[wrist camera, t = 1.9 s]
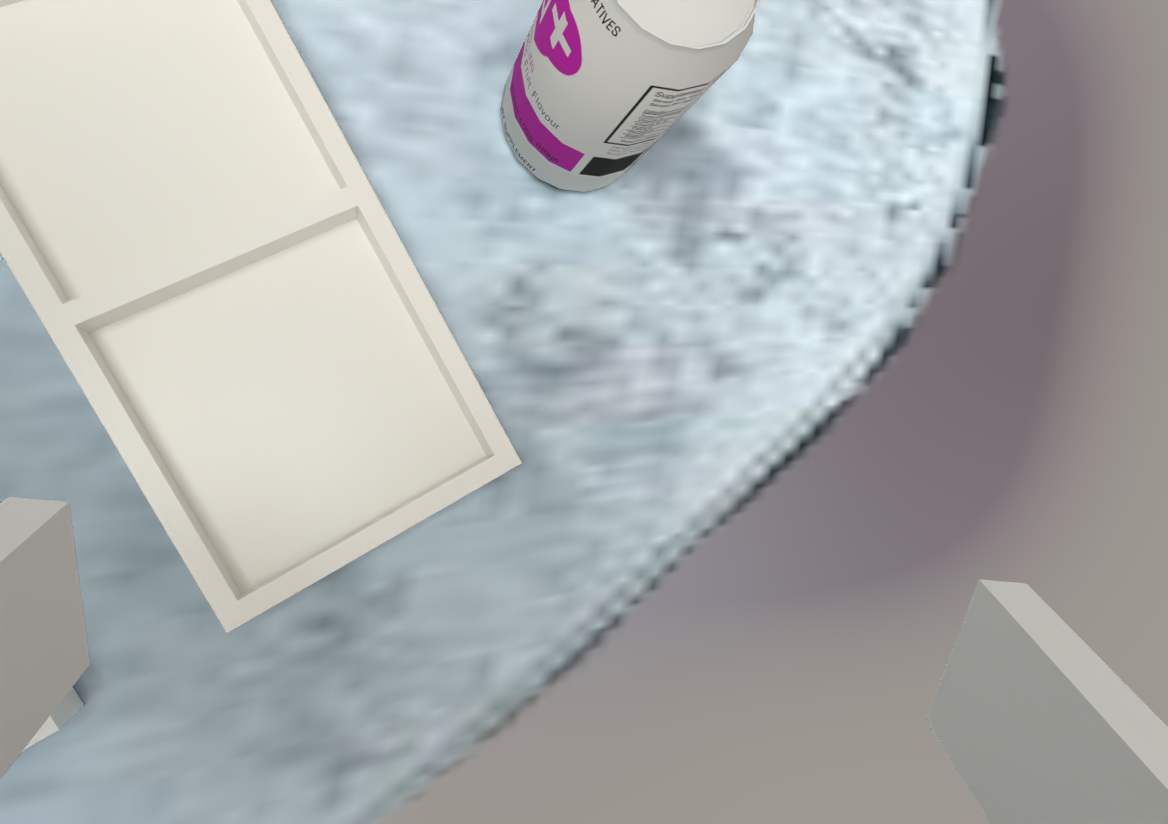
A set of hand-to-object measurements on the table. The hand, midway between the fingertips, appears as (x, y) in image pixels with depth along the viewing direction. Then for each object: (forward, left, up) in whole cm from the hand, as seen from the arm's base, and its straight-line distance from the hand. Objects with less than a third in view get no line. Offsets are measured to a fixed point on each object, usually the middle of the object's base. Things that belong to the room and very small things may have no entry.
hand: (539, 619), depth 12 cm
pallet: (-14, -1, -30) cm, 33 cm away
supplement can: (-14, +19, -30) cm, 38 cm away
